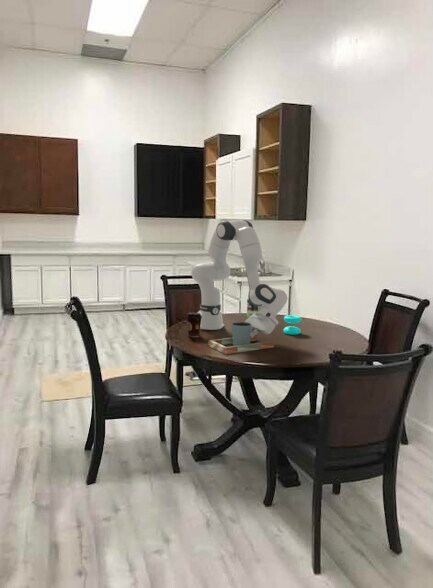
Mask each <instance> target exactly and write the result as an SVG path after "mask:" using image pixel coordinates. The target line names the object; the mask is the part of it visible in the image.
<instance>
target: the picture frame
mask: <svg viewBox="0 0 433 588" xmlns="http://www.w3.org/2000/svg"><path fill="white" fill-rule="evenodd" d="M255 341H258V335H257V334H256V335H254V337H253V338H252V337H250V342H253V343H250V344H245V345H238V346H233V336H232V337H226V338H225V337H224V338H218V339H217V338H216V339H210V340H208V344H207V345H208V347H210V348H211V349H213V350H216V351H218V352H220V353H223V354H224V355H230V354H236V353H237V354H238V353H243V352H251V351H256V350H257V351H258V350H263V349H264V350H265V349H271V348H274V347H275V341H274V340H270V341H261V342H255ZM254 342H255V343H254ZM225 345H232V346H225Z"/></svg>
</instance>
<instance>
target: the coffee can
mask: <svg viewBox="0 0 433 588" xmlns="http://www.w3.org/2000/svg"><path fill="white" fill-rule="evenodd" d="M246 304H247V305H246V320H247V319H248V318H249V317H250V316H251V315H252V314H255V313H258V312H259V310H260V309H261V308H262V307H263V305H262V306H254V305H252V304H251V303H250V301H249V299H248V298H247V299H246Z"/></svg>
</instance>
